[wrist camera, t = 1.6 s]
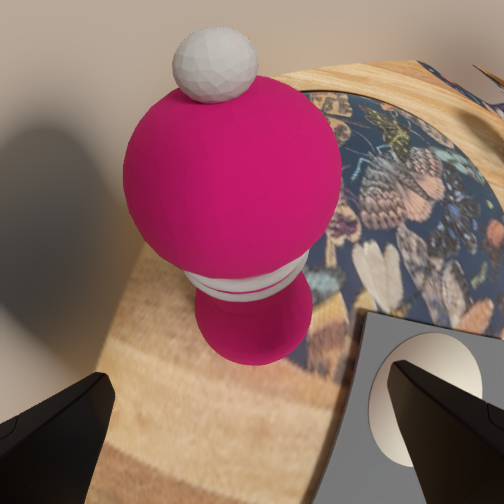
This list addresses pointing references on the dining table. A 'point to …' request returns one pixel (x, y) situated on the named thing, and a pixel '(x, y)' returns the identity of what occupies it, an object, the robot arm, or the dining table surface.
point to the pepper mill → (235, 193)
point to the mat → (382, 414)
